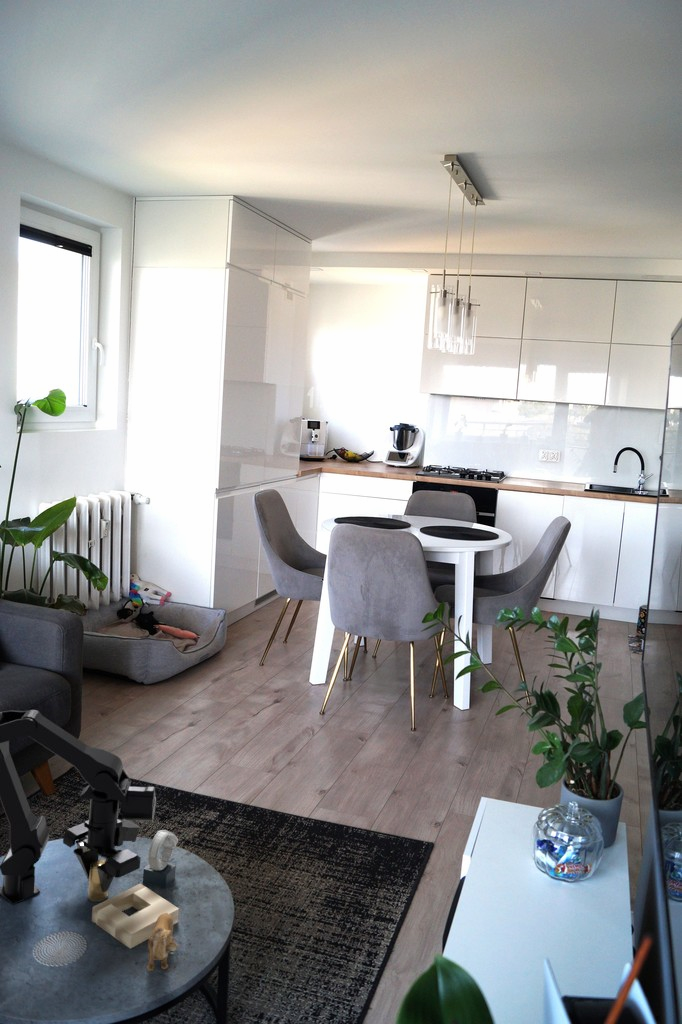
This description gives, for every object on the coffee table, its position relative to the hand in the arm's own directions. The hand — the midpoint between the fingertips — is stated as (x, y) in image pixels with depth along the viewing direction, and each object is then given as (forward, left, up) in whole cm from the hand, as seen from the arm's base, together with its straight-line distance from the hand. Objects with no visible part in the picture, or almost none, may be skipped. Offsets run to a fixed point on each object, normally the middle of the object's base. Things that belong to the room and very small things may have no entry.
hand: (98, 886), depth 180 cm
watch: (+4, +13, -2) cm, 14 cm away
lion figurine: (+24, -3, -2) cm, 25 cm away
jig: (+12, 0, -2) cm, 12 cm away
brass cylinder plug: (0, 0, -2) cm, 2 cm away
